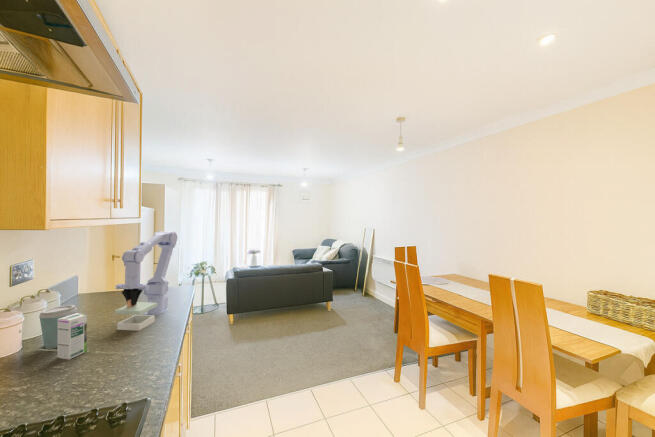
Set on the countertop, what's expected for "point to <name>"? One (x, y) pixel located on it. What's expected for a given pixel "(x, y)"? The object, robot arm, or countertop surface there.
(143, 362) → the countertop surface
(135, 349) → the countertop surface
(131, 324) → the tub
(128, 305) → the lid
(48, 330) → the disposable coffee cup
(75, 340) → the syrup box
